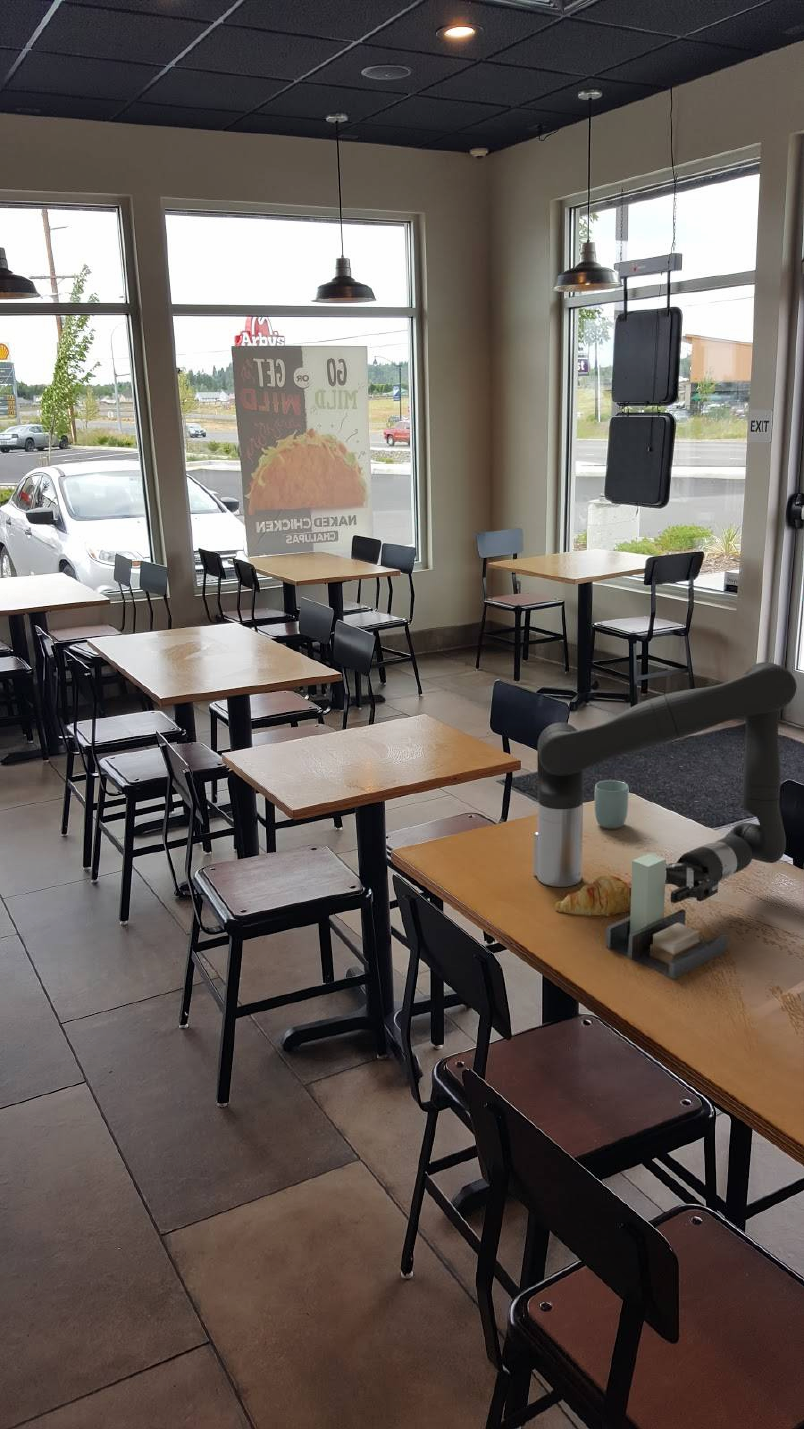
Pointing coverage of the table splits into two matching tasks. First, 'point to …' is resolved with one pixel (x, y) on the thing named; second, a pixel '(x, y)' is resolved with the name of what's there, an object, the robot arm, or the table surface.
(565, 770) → the robot arm
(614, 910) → the croissant
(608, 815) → the cup
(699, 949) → the rack
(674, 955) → the offcut lower
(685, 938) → the offcut upper
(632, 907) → the tall mint green block
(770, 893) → the table surface
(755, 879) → the table surface
